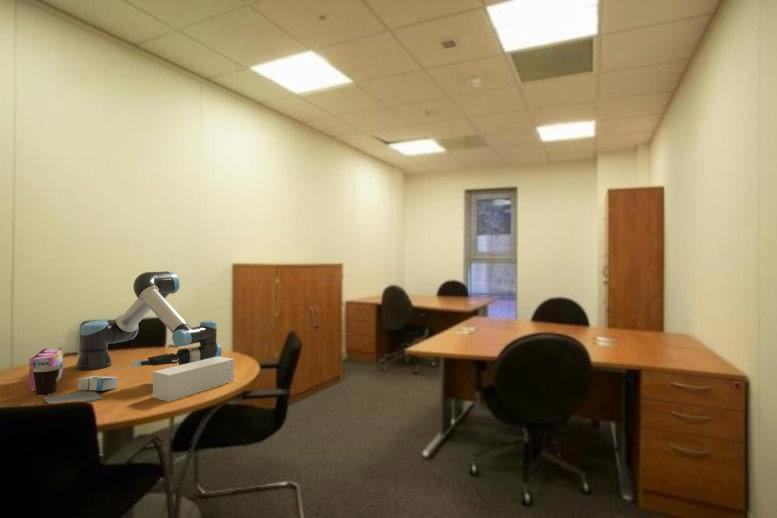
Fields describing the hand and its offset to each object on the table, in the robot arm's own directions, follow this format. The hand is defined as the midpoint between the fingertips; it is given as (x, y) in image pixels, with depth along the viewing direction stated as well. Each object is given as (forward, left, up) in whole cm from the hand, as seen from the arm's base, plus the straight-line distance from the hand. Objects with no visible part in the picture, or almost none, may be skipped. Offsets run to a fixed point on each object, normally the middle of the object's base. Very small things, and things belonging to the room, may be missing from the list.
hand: (131, 364), depth 183 cm
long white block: (+20, +19, -11) cm, 30 cm away
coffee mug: (-17, -28, -11) cm, 34 cm away
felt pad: (-1, -21, -10) cm, 23 cm away
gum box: (-36, -24, -11) cm, 44 cm away
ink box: (-3, -7, -7) cm, 11 cm away
